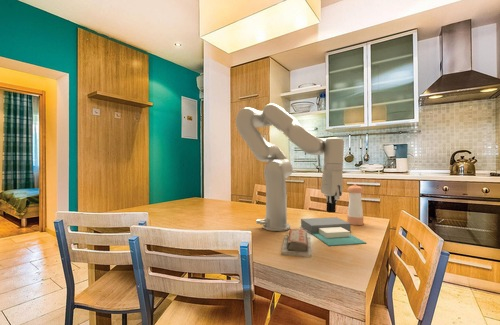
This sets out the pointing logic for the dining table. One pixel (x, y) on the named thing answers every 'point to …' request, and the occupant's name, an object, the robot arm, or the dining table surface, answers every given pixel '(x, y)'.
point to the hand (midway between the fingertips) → (330, 211)
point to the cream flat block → (334, 232)
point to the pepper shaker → (355, 205)
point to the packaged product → (297, 243)
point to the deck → (324, 224)
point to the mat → (339, 240)
